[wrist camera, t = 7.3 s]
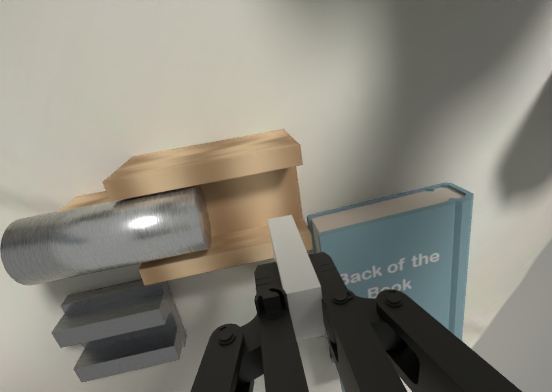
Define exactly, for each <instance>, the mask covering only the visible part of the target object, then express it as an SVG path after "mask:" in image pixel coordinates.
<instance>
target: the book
mask: <svg viewBox="0 0 552 392" xmlns="http://www.w3.org/2000/svg"><path fill="white" fill-rule="evenodd" d="M472 206H473V193H471V192H469V191H467V190H465V189H462V188H460V187H458V186H456V185H454V184H452V183H442V184H437V185H433V186H429V187H425V188H421V189H417V190H412V191H408V192H404V193H400V194H396V195H392V196H388V197H383V198H379V199H375V200H371V201H367V202H363V203H358V204H354V205H350V206H346V207H342V208H338V209H334V210H329V211H325V212H321V213H317V214H313V215H309V216H308V222H309V228H310V233H311V238H312V246H313V252H314V254H315V253H320V252H325V253H326V254H328V255H329V256H330V257H331V258H332V260H333V262H334V264H335V266H336V268H337V270H338V272H339V274H340V276H341V278H342V279H343V281H344V283H345V285H346V287H347V289H348V290H350V291H352V292H353V293H354V294H355V295H356V296H359V297H362V298H376V297H377V295H378V293H380V292H381V291H383V290H387V289H395V290H398V291H401V292H403V293H404V294H406V295H407V296H409V297H410V298H411V299H412V300H413V301H415V302H416V303H417V304H418V305H419V306H421V307H422V308H423V309H424V310H425V311H426V312H428V313H429V314H430V315H431V316H432V317H434V318H435V319H436V320H437V321H438V322H440V323H441V324H442V325H443V326H444V327H446V328H447V329H448V330H449V331H450V332H452V333H453V334H454V335H455V336H456V337H457V338H459V339H460V340H461V341H462V332H463V320H464V307H465V294H466V282H467V269H468V257H469V244H470V231H471V219H472ZM327 336H328V334H327ZM328 342H329V338H328ZM331 360H332V363H333V362H335V361H334V358H331ZM399 377H400V376H399ZM340 382H341V388H342V391H343V392H345V390H344V387H343V384H342V381H341V378H340Z"/></svg>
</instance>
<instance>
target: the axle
mask: <svg viewBox="0 0 552 392" xmlns="http://www.w3.org/2000/svg"><path fill="white" fill-rule="evenodd" d="M210 247H211V226H210V219H209V214H208V209H207V205H206V202H205V198H204V196H203V193H202V191H201V189H200V187H199V186H198V185H195V186H190V187H184V188H179V189H174V190H169V191H164V192H158V193H153V194H148V195H143V196H138V197H132V198H127V199H122V200H117V201H112V202H106V203H100V204H95V205H90V206H85V207H79V208H74V209H69V210H64V211H59V212H53V213H48V214H43V215H38V216H33V217H27V218H22V219H18V220H16V221H14V222H13V223H11V224H10V225H9V226H8V227H7V229H6V230H5V232H4V234H3V237H2V241H1V248H0V250H1V259H2V262H3V265H4V267H5V269H6V271H7V273H8V274H9V275H10V276H11V277H12V278H13V279H14V280H15V281H16V282H18V283H20V284H23V285H36V284H41V283H45V282H50V281H55V280H60V279H65V278H70V277H75V276H80V275H85V274H89V273H94V272H99V271H104V270H109V269H114V268H119V267H124V266H128V265H133V264H138V263H143V262H148V261H153V260H158V259H163V258H168V257H172V256H177V255H182V254H187V253H192V252H197V251H202V250H207V249H210Z"/></svg>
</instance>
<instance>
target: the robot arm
mask: <svg viewBox="0 0 552 392" xmlns="http://www.w3.org/2000/svg"><path fill="white" fill-rule="evenodd" d="M267 220H268V225H269V231H270V237H271V243H272V248H273V254H274V259H275V262H273V263H268V264H263V265H258V266H257V268H256V270H255V272H254V273H255V282H256V292H257V294H256V296H255V305H256V310H257V315H256V316H255V318H254V319H253V320H252V321H251V322H249V323H247V324H246V325H244V326H242V327H239V326H238V325H236V324H225V325H222V326H220V327H218V328H217V329H216V330H215V331H214V332H213V333H212V335H211V337H210V339H209V342H208V344H207V347H206V350H205V353H204V356H203V358H202V361H201V364H200V367H199V370H198V372H197V375H196V378H195V381H194V384H193V386H192V389H191V392H253V386H254V379H256V378H257V377H259V376H261V375H262V374H264V379H265V388H266V392H309V390H308V386H307V382H306V378H305V374H304V369H303V365H302V361H301V357H300V353H299V349H298V344H297V341H302V340H306V339H311V338H315V337H320V336H324V335H326V332H327V334H328V338H329V348H330V358H334V361H335V364H336V367H337V370H338V372H339V375H340V378H341V381H342V384H343V387H344V390H345V392H407V390H406V388H405V386H404V385H403V383H402V381H401V379H402V380H403V381H404V382H405V383H406V385H407V386H408V387H409V388H410V389H411V391H412V392H522V391H521V390H519V389H518V388H517V387H516V386H515V385H514V384H512V383H511V382H510V381H509V380H507V379H506V378H505V377H504V376H503V375H502V374H500V373H499V372H498V371H497V370H496V369H494V368H493V367H492V366H491V365H490V364H488V363H487V362H486V361H485V360H483V358H481V357H480V356H479V355H478V354H477V353H475V352H474V351H473V350H472V349H471V348H469V347H468V346H467V345H466V344H465V343H463V342H462V341H461V340H460V339H459V338H457V337H456V336H455V335H454V334H453V333H452V332H450V331H449V330H448V329H447V328H446V327H444V326H443V325H442V324H441V323H440V322H438V321H437V320H436V319H435V318H434V317H432V316H431V315H430V314H429V313H428V312H426V311H425V310H424V309H423V308H422V307H421V306H419V305H418V304H417V303H416V302H415V301H413V300H412V299H411V298H410V297H409V296H407V295H406V294H404V293H403V292H401V291H398V290H395V289H387V290H383V291H381V292H380V293H378V295H377V297H376V298H362V297H359V296H356V295H355V294H354V293H353V292H352V291H350V290H348V289H347V287H346V285H345V283H344V281H343V279H342V278H341V276H340V274H339V272H338V270H337V268H336V266H335V264H334V262H333V260H332V258H331V257H330V256H329V255H328V254H326V253H325V252H320V253H315V254H310V255H308V253H307V251H306V248H305V246H304V244H303V241H302V239H301V236H300V234H299V231H298V229H297V226H296V224H295V221H294V219H293V216H292V215H288V216H282V217H277V218H272V219H267ZM325 329H326V330H325ZM399 376H400V377H401V379H400V377H399Z"/></svg>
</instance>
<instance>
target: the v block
mask: <svg viewBox="0 0 552 392" xmlns="http://www.w3.org/2000/svg"><path fill="white" fill-rule="evenodd" d="M61 307H62V309H63V311H64V312H65V314H64V315H63V317H62V318H61V320H60V321H59V322H58V324H57V325H56V327H55V328H54V330H53V331H52V334H53V336H54V338H55V339H56V341H57V343H58V344H59V346H60V348H62V347H67V346H71V345H76V344H80V343H82V344H83V346H84V348H85V349H84V350H83V352H82V354H81V356H80V358H79V360H78V362H77V364H76V366H75V367H74V371H75V372H76V374H77V376H78V377H79V379H80V380H81V382H86V381H90V380H94V379H98V378H103V377H107V376H111V375H115V374H120V373H124V372H128V371H132V370H137V369H141V368H145V367H149V366H154V365H158V364H162V363H166V362H171V361H175V360H179V358H180V352H181V347H185V344H186V337H187V335H186V333H185V330H184V327H183V324H182V322H181V319H180V316H179V314H178V311H177V308H176V305H175V303H174V300H173V297H172V295H171V292H170V289H169V286H168V284H167V281H164V282H159V283H154V284H150V285H144V283H143V280H138V281H134V282H129V283H124V284H120V285H115V286H110V287H106V288H101V289H96V290H91V291H87V292H82V293H77V294H73V295H68V296H67V298H66V299H65V300H64V302H63V303H62V304H61Z"/></svg>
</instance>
